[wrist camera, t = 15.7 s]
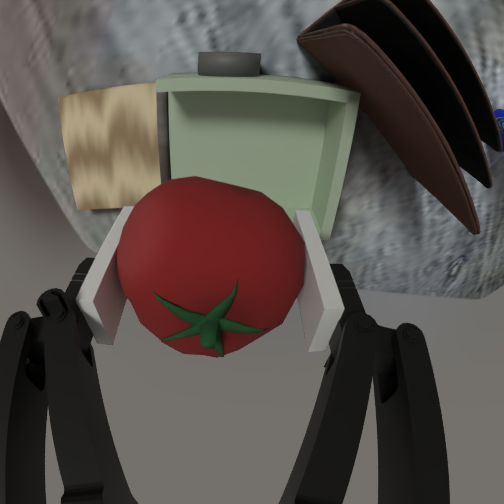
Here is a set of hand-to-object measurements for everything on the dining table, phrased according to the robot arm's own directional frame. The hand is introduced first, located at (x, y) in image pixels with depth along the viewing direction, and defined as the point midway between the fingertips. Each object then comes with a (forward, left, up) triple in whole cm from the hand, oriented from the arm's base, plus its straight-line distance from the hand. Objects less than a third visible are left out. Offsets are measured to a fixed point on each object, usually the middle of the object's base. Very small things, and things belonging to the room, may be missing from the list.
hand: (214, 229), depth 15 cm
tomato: (0, 0, 0) cm, 1 cm away
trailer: (0, +2, -15) cm, 15 cm away
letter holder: (-8, +16, -16) cm, 24 cm away
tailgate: (0, -6, -14) cm, 15 cm away
